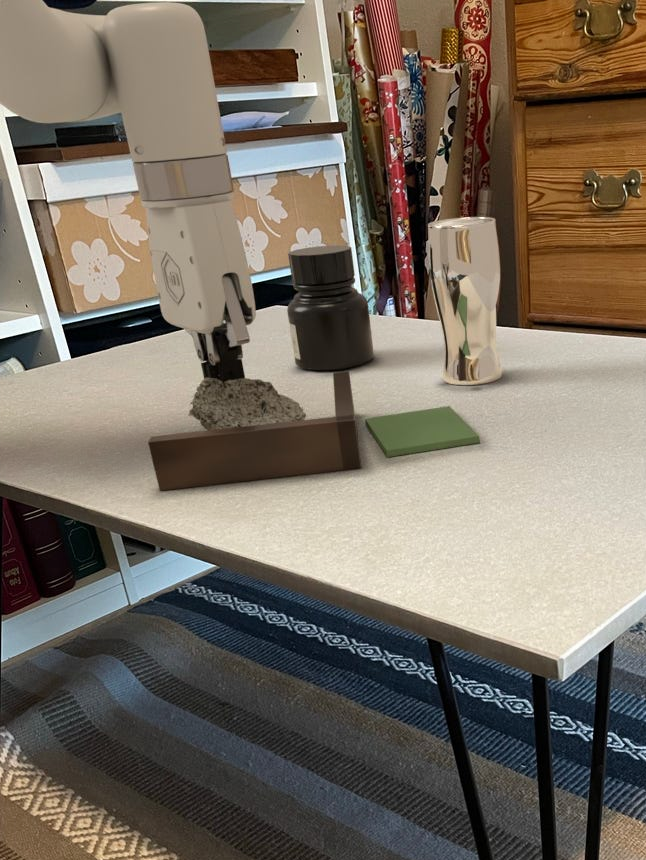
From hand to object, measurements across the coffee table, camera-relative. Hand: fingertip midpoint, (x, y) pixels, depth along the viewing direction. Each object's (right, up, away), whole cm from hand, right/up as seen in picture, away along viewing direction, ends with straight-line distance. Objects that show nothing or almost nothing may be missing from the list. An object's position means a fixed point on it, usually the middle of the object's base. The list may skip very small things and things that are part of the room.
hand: (230, 404), depth 89 cm
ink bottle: (+6, +10, +22) cm, 25 cm away
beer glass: (+22, +6, +12) cm, 26 cm away
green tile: (+17, -3, -3) cm, 18 cm away
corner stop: (+4, -5, -4) cm, 7 cm away
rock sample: (+4, -4, -2) cm, 6 cm away
